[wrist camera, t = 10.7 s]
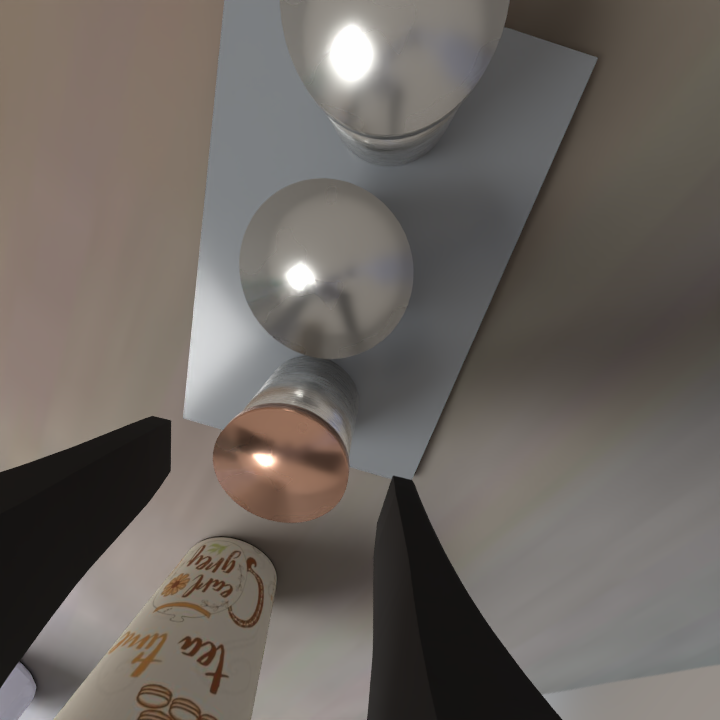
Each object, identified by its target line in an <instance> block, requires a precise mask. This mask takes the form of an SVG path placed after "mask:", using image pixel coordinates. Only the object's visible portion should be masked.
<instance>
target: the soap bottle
mask: <svg viewBox="0 0 720 720" xmlns="http://www.w3.org/2000/svg"><path fill="white" fill-rule="evenodd" d="M35 691H36V684H35V682H34V680H33V678H32V675H31V673H30V672H29V671H28V670H27V669H26V668H25V666H24V665H23V664H22V663H21V662H18V664H17V665H16V666H15V668H14V669H13V671H12V672H11V674H10V675H9V677H8V678H7V679H6V681H5V682H4V684H3V685H2V687H1V688H0V720H18V719H19V717H20V716H21V715H22V713H23V712H24V711H25V709H26V708H27V707H28V705H29V704H30V703H31V701H32V700H33V698H34V695H35Z"/></svg>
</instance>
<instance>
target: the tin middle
mask: <svg viewBox="0 0 720 720" xmlns="http://www.w3.org/2000/svg"><path fill="white" fill-rule="evenodd" d="M413 272H414V269H413V259H412V254H411V249H410V245H409V243H408V240H407V237H406V235H405V232H404V230H403V229H402V227H401V225H400V223H399V221H398V220H397V219H396V217H395V216H394V214H393V213H392V212H391V211H390V210H389V208H388V207H387V206H386V205H385V204H384V203H383V202H382V201H380V200H379V199H378V198H377V197H375V196H374V195H373V194H371V193H370V192H368V191H366V190H365V189H363V188H361V187H359V186H356V185H354V184H352V183H349V182H345V181H341V180H337V179H328V178H318V179H309V180H303V181H299V182H296V183H294V184H291V185H288V186H286V187H285V188H283V189H281V190H279V191H277V192H276V193H275V194H273V195H272V196H271V197H269V198H268V199H267V200H266V201H265V202H264V203H263V204H262V205H261V206H260V207H259V209H258V210H257V211H256V213H255V214H254V215H253V217H252V219H251V221H250V223H249V224H248V226H247V229H246V231H245V234H244V237H243V240H242V244H241V249H240V258H239V273H240V279H241V285H242V289H243V292H244V296H245V298H246V301H247V303H248V306H249V307H250V309H251V311H252V313H253V315H254V316H255V318H256V319H257V320H258V322H259V323H260V325H261V326H262V327H263V328H264V329H265V330H266V331H267V332H268V333H269V334H270V335H271V336H272V337H273V338H274V339H276V340H277V341H278V342H280V343H281V344H283V345H284V346H286V347H288V348H290V349H291V350H293V351H295V352H298V353H301V354H303V355H307V356H311V357H314V358H322V359H338V358H346V357H350V356H354V355H357V354H360V353H362V352H365V351H367V350H369V349H370V348H372V347H374V346H376V345H377V344H378V343H380V342H381V341H382V340H384V339H385V338H386V337H387V336H388V335H389V334H390V333H391V332H392V331H393V329H394V328H395V327H396V326H397V324H398V323H399V321H400V319H401V318H402V316H403V315H404V312H405V310H406V308H407V306H408V303H409V299H410V296H411V292H412V286H413Z"/></svg>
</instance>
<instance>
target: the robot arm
mask: <svg viewBox="0 0 720 720" xmlns="http://www.w3.org/2000/svg"><path fill="white" fill-rule="evenodd" d="M170 471H171V420H167V419H163V418H159V417H154V416H151V417H148V418H145V419H142V420H140V421H137V422H135V423H132V424H129V425H127V426H124V427H122V428H119V429H117V430H115V431H112V432H110V433H107V434H105V435H102V436H99V437H97V438H94V439H92V440H89V441H87V442H84V443H82V444H79V445H77V446H74V447H72V448H69V449H66V450H63V451H60V452H58V453H55V454H52V455H49V456H47V457H44V458H41V459H38V460H36V461H33V462H30V463H27V464H24V465H21V466H18V467H15V468H12V469H9V470H6V471H3V472H0V688H1V687H2V685H3V684H4V682H5V681H6V679H7V678H8V677H9V675H10V674H11V672H12V671H13V669H14V668H15V666H16V665H17V664H18V662H19V661H20V660H21V658H22V657H23V655H24V654H25V653H26V651H27V650H28V648H29V647H30V646H31V644H32V643H33V642H34V640H35V639H36V637H37V636H38V635H39V633H40V632H41V631H42V629H43V628H44V626H45V625H46V624H47V622H48V621H49V620H50V618H51V617H52V616H53V614H54V613H55V612H56V610H57V609H58V608H59V606H60V605H61V604H62V603H63V601H64V600H65V599H66V597H67V596H68V595H69V593H70V592H71V591H72V589H73V588H74V587H75V585H76V584H77V583H78V582H79V581H80V579H81V578H82V577H83V576H84V575H85V573H86V572H87V571H88V570H89V569H90V567H91V566H92V565H93V564H94V563H95V562H96V561H97V560H98V559H99V557H100V556H101V555H102V554H103V553H104V552H105V551H106V550H107V549H108V547H109V546H110V545H111V544H112V543H113V542H114V541H115V540H116V538H117V537H118V536H119V535H120V534H121V533H122V532H123V531H124V530H125V528H126V527H127V526H128V525H129V524H130V523H131V522H132V521H133V519H134V518H135V517H136V516H137V515H138V514H139V513H140V512H141V510H142V509H143V508H144V507H145V506H146V505H147V504H148V502H149V501H150V500H151V499H152V497H153V496H154V494H155V493H156V492H157V490H158V489H159V488H160V486H161V485H162V483H163V482H164V480H165V479H166V477H167V476H168V474H169V473H170ZM367 720H562V719H561V718H560V716H559V715H558V714H557V713H556V712H555V711H554V710H553V708H552V707H551V706H550V705H549V703H548V702H547V701H546V700H545V698H544V697H543V696H542V695H541V693H540V692H539V691H538V690H537V689H536V687H535V686H534V685H533V684H532V682H531V681H530V680H529V679H528V677H527V676H526V675H525V674H524V672H523V671H522V670H521V668H520V667H519V666H518V664H517V663H516V662H515V660H514V659H513V658H512V656H511V655H510V654H509V652H508V651H507V650H506V648H505V647H504V645H503V644H502V643H501V641H500V640H499V639H498V637H497V636H496V635H495V633H494V632H493V631H492V629H491V628H490V626H489V625H488V623H487V622H486V620H485V619H484V617H483V616H482V614H481V613H480V611H479V610H478V608H477V607H476V605H475V603H474V602H473V600H472V599H471V597H470V596H469V594H468V592H467V591H466V589H465V587H464V586H463V584H462V582H461V581H460V579H459V577H458V575H457V574H456V572H455V570H454V568H453V566H452V564H451V563H450V561H449V559H448V557H447V555H446V553H445V551H444V549H443V548H442V546H441V543H440V541H439V539H438V537H437V535H436V533H435V531H434V529H433V527H432V525H431V523H430V521H429V518H428V516H427V514H426V511H425V509H424V507H423V505H422V502H421V500H420V497H419V495H418V492H417V490H416V487H415V485H414V483H413V481H412V480H410V479H406V478H402V477H398V476H394V475H393V477H392V480H391V483H390V486H389V489H388V492H387V495H386V498H385V501H384V504H383V507H382V510H381V513H380V516H379V519H378V522H377V530H376V539H375V548H374V579H373V658H372V670H371V682H370V694H369V705H368V716H367Z"/></svg>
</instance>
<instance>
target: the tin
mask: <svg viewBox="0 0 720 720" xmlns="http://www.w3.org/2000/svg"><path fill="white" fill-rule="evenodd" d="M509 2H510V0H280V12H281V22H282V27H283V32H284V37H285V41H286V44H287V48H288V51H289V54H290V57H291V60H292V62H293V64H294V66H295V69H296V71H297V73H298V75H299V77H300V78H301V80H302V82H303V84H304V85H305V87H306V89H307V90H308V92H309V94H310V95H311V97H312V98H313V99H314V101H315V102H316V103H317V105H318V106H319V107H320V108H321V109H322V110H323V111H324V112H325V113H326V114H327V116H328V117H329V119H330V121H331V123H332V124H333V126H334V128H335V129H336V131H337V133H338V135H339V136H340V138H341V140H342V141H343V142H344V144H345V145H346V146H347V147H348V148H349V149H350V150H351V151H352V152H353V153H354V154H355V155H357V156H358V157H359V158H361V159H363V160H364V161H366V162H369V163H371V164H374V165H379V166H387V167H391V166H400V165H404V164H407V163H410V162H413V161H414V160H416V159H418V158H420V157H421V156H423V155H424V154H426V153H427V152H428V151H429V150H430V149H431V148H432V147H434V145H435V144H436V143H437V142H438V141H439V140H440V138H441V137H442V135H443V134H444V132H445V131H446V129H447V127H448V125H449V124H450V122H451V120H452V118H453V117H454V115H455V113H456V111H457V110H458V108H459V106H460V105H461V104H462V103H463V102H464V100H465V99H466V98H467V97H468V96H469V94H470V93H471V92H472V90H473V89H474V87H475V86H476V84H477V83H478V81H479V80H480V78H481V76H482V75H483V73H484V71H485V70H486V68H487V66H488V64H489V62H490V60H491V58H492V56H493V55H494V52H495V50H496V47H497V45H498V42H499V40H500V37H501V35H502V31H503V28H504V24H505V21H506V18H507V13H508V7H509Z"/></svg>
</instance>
